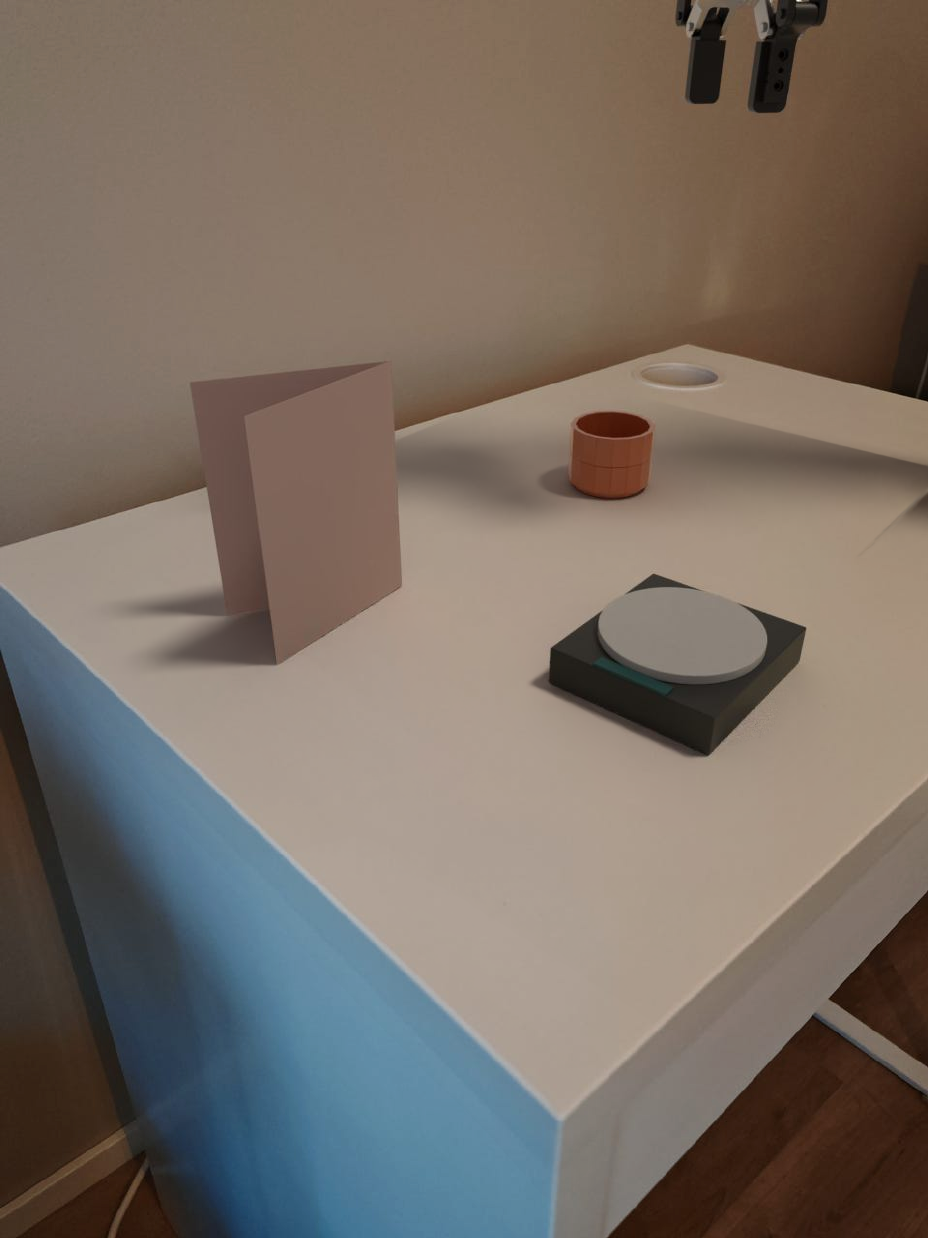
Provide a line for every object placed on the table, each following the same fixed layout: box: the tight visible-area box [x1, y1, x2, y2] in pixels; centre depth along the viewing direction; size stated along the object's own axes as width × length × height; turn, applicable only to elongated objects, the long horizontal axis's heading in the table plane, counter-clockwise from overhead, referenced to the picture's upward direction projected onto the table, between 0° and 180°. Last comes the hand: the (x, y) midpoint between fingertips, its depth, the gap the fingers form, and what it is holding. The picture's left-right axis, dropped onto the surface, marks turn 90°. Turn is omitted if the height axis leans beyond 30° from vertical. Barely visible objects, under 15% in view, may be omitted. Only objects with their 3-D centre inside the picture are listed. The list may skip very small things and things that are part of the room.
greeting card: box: [189, 360, 403, 665], centre depth 56 cm, size 11×7×15 cm, turn 109°
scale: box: [548, 573, 807, 756], centre depth 54 cm, size 11×10×3 cm
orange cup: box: [567, 410, 656, 499], centre depth 76 cm, size 6×6×5 cm
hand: (731, 107), depth 62 cm, fingers open, 8 cm apart
